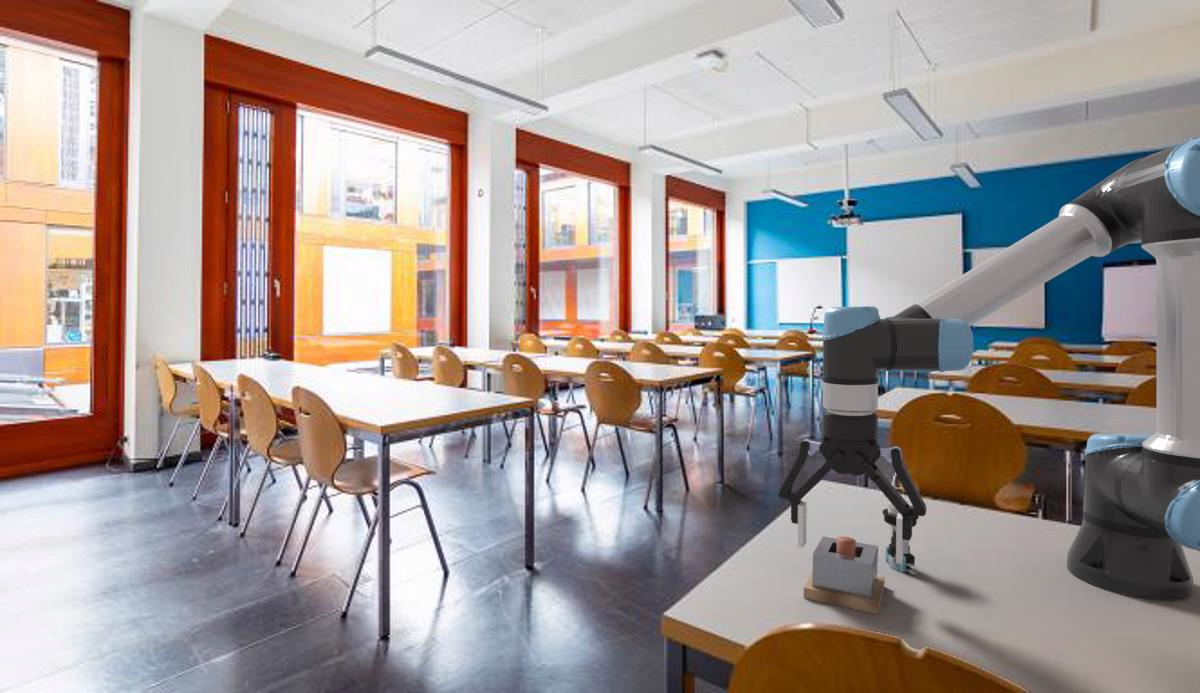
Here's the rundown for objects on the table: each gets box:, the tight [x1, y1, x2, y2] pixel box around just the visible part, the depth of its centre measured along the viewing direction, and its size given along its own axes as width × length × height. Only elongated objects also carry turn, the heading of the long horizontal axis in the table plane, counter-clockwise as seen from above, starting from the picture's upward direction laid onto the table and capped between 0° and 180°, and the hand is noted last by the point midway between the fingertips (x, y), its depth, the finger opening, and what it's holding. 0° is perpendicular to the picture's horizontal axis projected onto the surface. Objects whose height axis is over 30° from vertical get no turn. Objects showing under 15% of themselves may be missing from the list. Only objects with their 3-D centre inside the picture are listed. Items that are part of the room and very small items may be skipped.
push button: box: [882, 503, 920, 575], centre depth 102 cm, size 7×5×10 cm
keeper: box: [803, 536, 886, 615], centre depth 93 cm, size 10×10×8 cm
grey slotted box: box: [811, 536, 879, 599], centre depth 93 cm, size 8×8×5 cm
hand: (849, 552), depth 93 cm, fingers open, 13 cm apart
